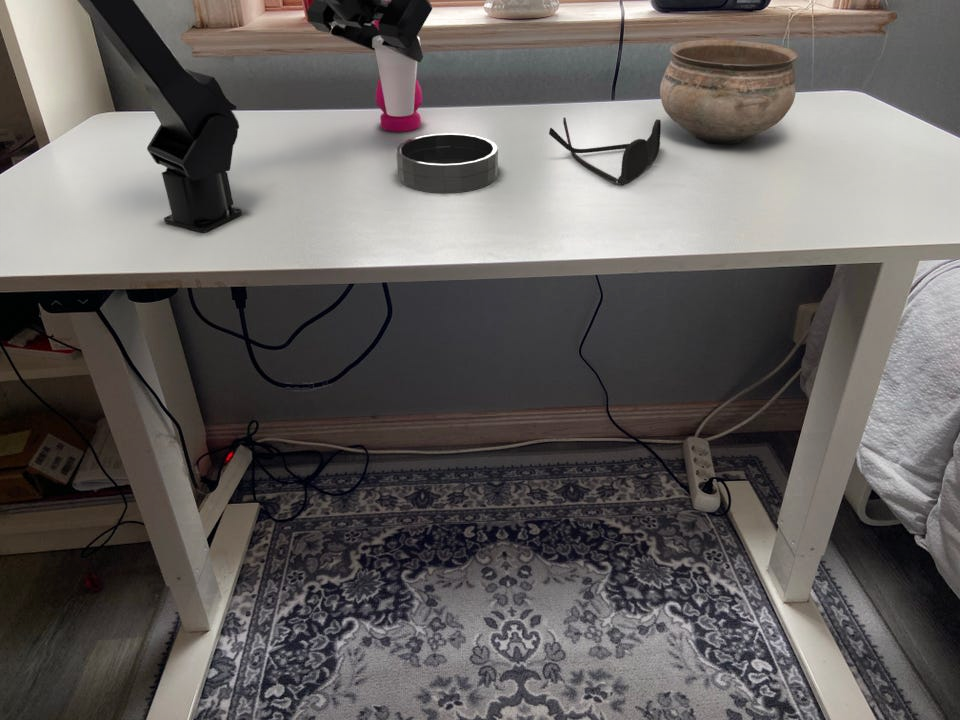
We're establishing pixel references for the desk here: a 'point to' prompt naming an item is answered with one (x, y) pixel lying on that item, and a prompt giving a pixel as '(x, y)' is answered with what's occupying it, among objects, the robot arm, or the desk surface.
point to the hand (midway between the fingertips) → (404, 55)
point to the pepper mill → (398, 121)
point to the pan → (447, 163)
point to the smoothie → (396, 79)
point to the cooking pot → (728, 88)
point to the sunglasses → (634, 155)
